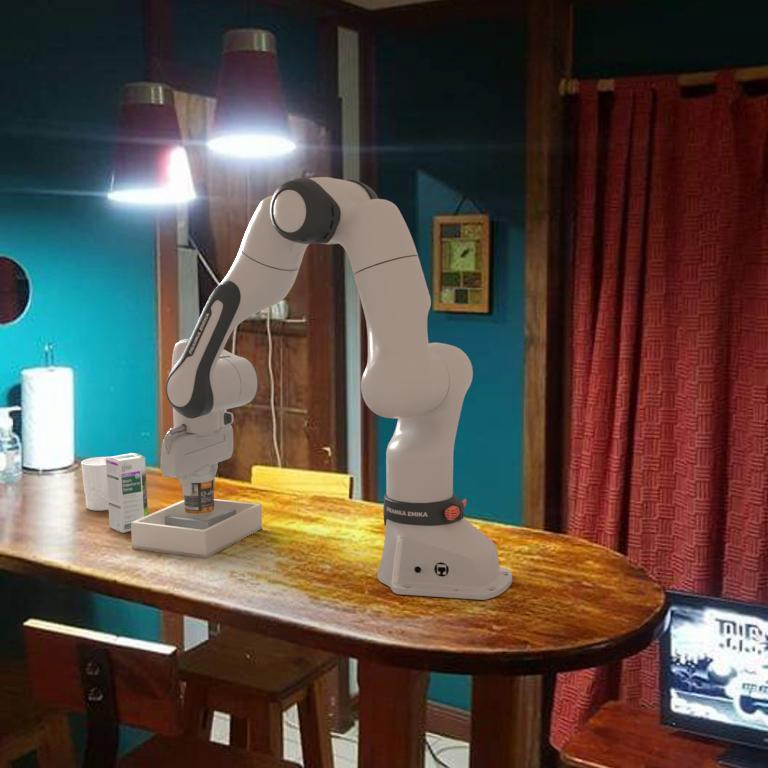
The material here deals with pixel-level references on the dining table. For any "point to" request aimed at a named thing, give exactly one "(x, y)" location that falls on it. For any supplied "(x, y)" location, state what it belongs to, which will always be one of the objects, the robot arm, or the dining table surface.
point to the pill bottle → (200, 494)
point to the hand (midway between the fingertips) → (199, 490)
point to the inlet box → (196, 529)
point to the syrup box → (126, 490)
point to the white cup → (95, 483)
